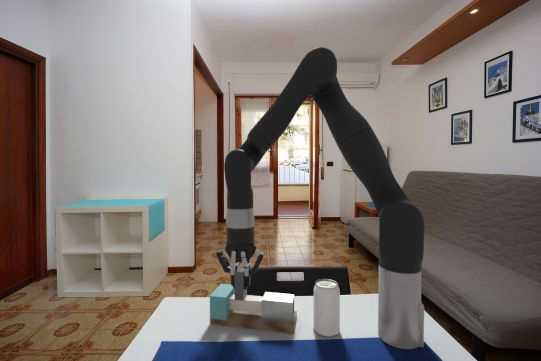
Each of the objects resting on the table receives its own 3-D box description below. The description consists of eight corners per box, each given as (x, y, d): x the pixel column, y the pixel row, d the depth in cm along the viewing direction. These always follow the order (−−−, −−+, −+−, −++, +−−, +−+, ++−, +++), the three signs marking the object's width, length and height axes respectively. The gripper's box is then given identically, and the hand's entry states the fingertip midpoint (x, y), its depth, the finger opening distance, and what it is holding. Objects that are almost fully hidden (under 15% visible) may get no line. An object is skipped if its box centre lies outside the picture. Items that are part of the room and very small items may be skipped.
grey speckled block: (294, 313, 74) (294, 294, 73) (292, 323, 69) (292, 302, 69) (265, 311, 75) (265, 291, 75) (261, 320, 70) (261, 299, 70)
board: (296, 316, 75) (296, 311, 75) (293, 333, 67) (293, 327, 67) (221, 309, 79) (221, 303, 79) (210, 324, 71) (209, 318, 71)
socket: (235, 305, 78) (235, 284, 78) (226, 320, 70) (226, 297, 70) (221, 303, 79) (220, 283, 79) (209, 318, 71) (209, 296, 71)
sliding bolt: (274, 307, 74) (274, 269, 74) (272, 314, 70) (272, 274, 70) (225, 303, 77) (225, 266, 76) (221, 309, 73) (220, 270, 73)
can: (340, 339, 65) (340, 289, 64) (312, 336, 66) (313, 287, 66) (339, 324, 71) (339, 279, 71) (314, 321, 72) (314, 277, 72)
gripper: (268, 222, 75) (268, 284, 76) (221, 221, 78) (221, 280, 79) (262, 228, 68) (262, 296, 69) (210, 226, 71) (211, 291, 71)
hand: (240, 287), depth 74 cm, fingers closed on sliding bolt, 2 cm apart
